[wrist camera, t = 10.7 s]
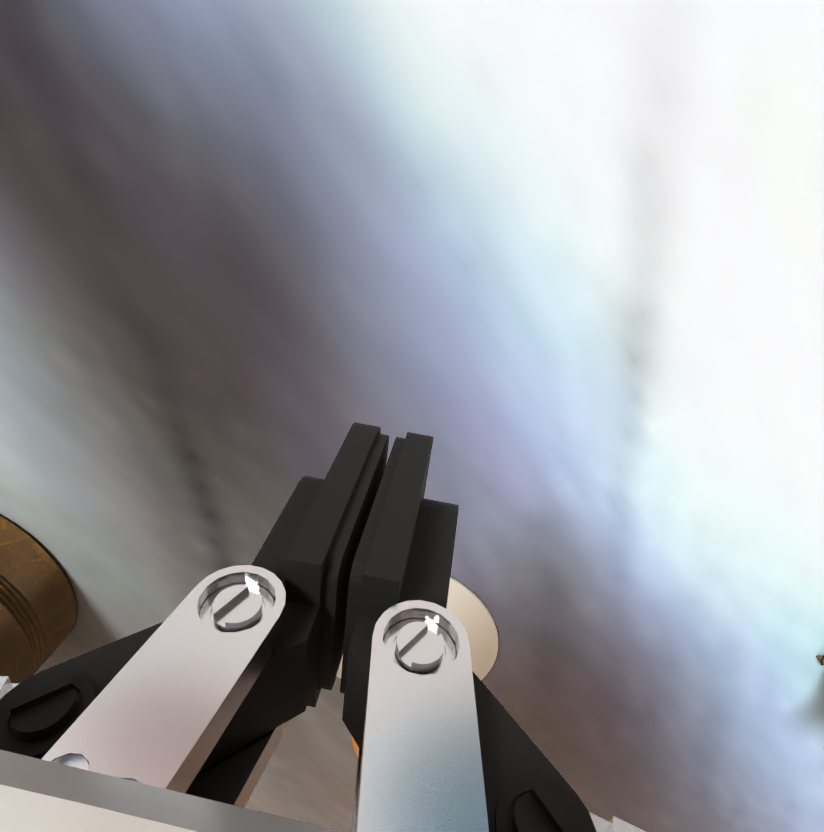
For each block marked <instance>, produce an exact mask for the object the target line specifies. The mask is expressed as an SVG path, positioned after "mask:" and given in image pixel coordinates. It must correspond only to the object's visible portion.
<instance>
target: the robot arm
mask: <svg viewBox="0 0 824 832" xmlns="http://www.w3.org/2000/svg"><path fill="white" fill-rule="evenodd" d="M388 443H389V436H388V435H382V434H380V427H376V426H371V425H365V424H360V423H354V424H353V425H352V427H351V429H350V431H349V433H348V435H347V437H346V439H345V441H344V443H343V445H342V447H341V449H340V451H339V453H338V455H337V457H336V458H335V460H334V462H333V464H332V466H331V468H330V470H329V472H328V474H327V476H326V478H325V480H323V479H318V478H313V477H308V476H305V477H303V478H302V479H301V481H300V482H299V484H298V485H297V487H296V489H295V491H294V492H293V494H292V496H291V497H290V499H289V501H288V503H287V504H286V506H285V508H284V510H283V511H282V513H281V515H280V517H279V518H278V520H277V522H276V524H275V525H274V527H273V529H272V531H271V532H270V534H269V536H268V538H267V539H266V541H265V543H264V544H263V546H262V548H261V550H260V551H259V553H258V555H257V557H256V558H255V560H254V562H253V564H252V565H238V566H232V567H228V568H224V569H220V570H218V571H216V572H214V573H213V574H211V575H209V576H207V577H206V578H205V579H203V580H202V581H201V582H200V583H199V584H198V585H196V586H195V588H194V589H193V590H192V591H191V592H190V593H189V594H188V595H187V597H186V598H185V599H184V600H183V601H182V602H181V603H180V604H179V605H178V607H177V608H176V609H175V610H174V611H173V612H172V613H171V614H170V616H169V617H168V618H167V619H166V620H165V621H164V622H162V623H160V624H157V625H155V626H152V627H150V628H147V629H145V630H142V631H140V632H137V633H135V634H132V635H130V636H128V637H125V638H123V639H120V640H118V641H115V642H113V643H110V644H108V645H105V646H103V647H100V648H98V649H96V650H93V651H91V652H88V653H86V654H83V655H81V656H78V657H76V658H73V659H71V660H68V661H66V662H64V663H61V664H59V665H56V666H54V667H51V668H49V669H46V670H44V671H41V672H39V673H37V674H35V675H34V676H32V677H30V678H28V679H26V680H24V681H22V682H21V683H11V681H10V679H9V676H0V832H341V831H337V830H333V829H329V828H325V827H321V826H317V825H313V824H309V823H304V822H300V821H296V820H292V819H288V818H284V817H280V816H276V815H271V814H267V813H263V812H259V811H255V810H251V809H247V808H244V807H245V805H246V803H247V802H248V800H249V798H250V796H251V794H252V792H253V790H254V788H255V786H256V784H257V783H258V781H259V779H260V777H261V775H262V773H263V771H264V769H265V767H266V765H267V763H268V762H269V760H270V758H271V756H272V754H273V752H274V750H275V748H276V746H277V744H278V743H279V741H280V739H281V737H282V734H283V731H284V728H285V725H286V722H287V721H289V720H290V719H292V718H294V717H295V716H297V715H299V714H301V713H302V712H304V711H305V709H306V706H307V705H308V706H312V707H315V706H316V703H317V700H318V697H319V694H320V691H321V688H323V689H328V690H331V689H332V687H333V685H334V682H335V679H336V675H337V672H338V669H339V665H340V662H341V659H342V656H343V661H342V673H341V686H340V692H341V693H345V695H344V706H343V718H342V720H343V722H344V723H345V725H346V727H347V728H348V730H349V732H350V733H351V735H352V737H353V738H354V740H355V742H356V744H357V745H358V747H359V751H358V762H357V773H356V784H355V796H354V807H353V818H352V830H351V832H646V831H644V830H642V829H639V828H637V827H635V826H633V825H631V824H629V823H627V822H625V821H623V820H621V819H619V818H617V817H615V816H613V817H612V819H611V820H610V822H609V821H607V820H605V819H603V818H601V817H599V816H596V815H594V814H592V813H590V812H588V810H587V809H586V807H585V806H584V804H583V803H582V801H581V800H580V798H579V797H578V795H577V794H576V793H575V791H574V790H573V789H572V788H571V787H570V785H569V784H568V783H567V782H566V781H565V780H564V778H563V777H562V776H561V775H560V774H559V772H558V771H557V770H556V769H555V768H554V767H553V765H552V764H551V763H550V762H549V761H548V759H547V758H546V757H545V756H544V755H543V754H542V752H541V751H540V750H539V749H538V748H537V746H536V745H535V744H534V743H533V742H532V741H531V739H530V738H529V737H528V736H527V735H526V733H525V732H524V731H523V730H522V729H521V728H520V726H519V725H518V724H517V723H516V722H515V720H514V719H513V718H512V717H511V716H510V714H509V713H508V712H507V711H506V710H505V709H504V707H503V706H502V705H501V704H500V703H499V701H498V700H497V699H496V698H495V697H494V696H493V694H492V693H491V692H490V691H489V690H488V688H487V687H486V686H485V685H484V684H483V683H482V681H481V680H480V679H479V678H478V677H477V675H476V674H475V673H474V672H473V671H472V663H471V654H470V644H469V640H468V636H467V633H466V630H465V628H464V627H463V625H462V624H461V622H460V621H459V619H458V618H457V617H456V616H455V615H453V614H452V613H451V612H450V611H449V610H448V609H446V608H447V600H448V592H449V583H450V575H451V566H452V558H453V550H454V541H455V533H456V525H457V516H458V505H454V504H449V503H444V502H439V501H433V500H428V499H423V498H424V492H425V486H426V480H427V474H428V467H429V461H430V455H431V449H432V443H433V437H431V436H426V435H420V434H415V433H409V432H408V433H407V435H406V438H405V439H404V438H399V437H396V439H395V442H394V445H393V448H392V451H391V453H390V456H389V459H388V462H387V465H386V461H387V452H388Z"/></svg>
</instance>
